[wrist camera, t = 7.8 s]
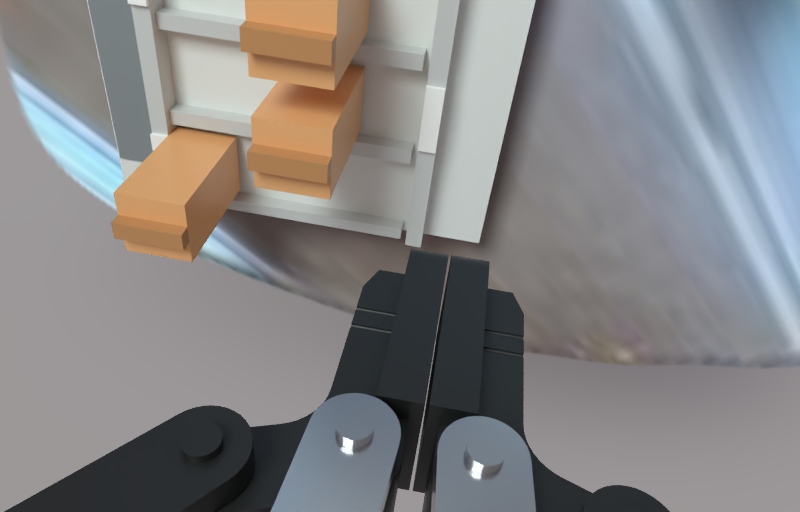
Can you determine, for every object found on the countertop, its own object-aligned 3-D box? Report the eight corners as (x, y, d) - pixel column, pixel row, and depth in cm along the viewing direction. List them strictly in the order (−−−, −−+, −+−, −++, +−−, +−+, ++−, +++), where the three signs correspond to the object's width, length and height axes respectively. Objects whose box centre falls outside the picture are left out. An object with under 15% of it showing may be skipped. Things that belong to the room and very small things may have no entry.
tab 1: (236, 136, 30) (178, 213, 25) (240, 189, 32) (186, 270, 27) (176, 126, 30) (105, 201, 25) (183, 179, 32) (119, 258, 27)
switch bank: (545, -63, 25) (549, -42, 22) (480, 220, 34) (477, 260, 31) (88, -131, 26) (39, -118, 23) (142, 162, 35) (111, 195, 32)
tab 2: (373, -46, 24) (333, 5, 19) (367, 31, 26) (330, 97, 21) (297, -58, 24) (237, -10, 19) (297, 20, 26) (242, 83, 21)
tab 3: (365, 66, 27) (329, 137, 22) (360, 129, 29) (326, 208, 24) (297, 55, 27) (245, 123, 22) (297, 118, 29) (249, 195, 24)
